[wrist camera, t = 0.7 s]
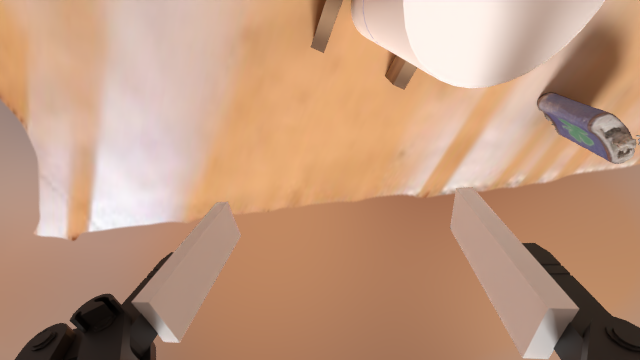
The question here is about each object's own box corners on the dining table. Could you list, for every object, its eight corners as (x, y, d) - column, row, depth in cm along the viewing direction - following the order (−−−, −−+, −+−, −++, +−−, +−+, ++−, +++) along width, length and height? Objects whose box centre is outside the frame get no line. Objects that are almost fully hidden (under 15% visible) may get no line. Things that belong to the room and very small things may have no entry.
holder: (354, -109, 23) (364, -158, 17) (469, -40, 26) (516, -59, 19) (307, 40, 31) (301, 46, 24) (399, 82, 34) (417, 99, 27)
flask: (532, 101, 34) (602, 131, 26) (553, 85, 33) (636, 110, 24) (560, 138, 38) (631, 176, 29) (581, 125, 36) (662, 160, 27)
